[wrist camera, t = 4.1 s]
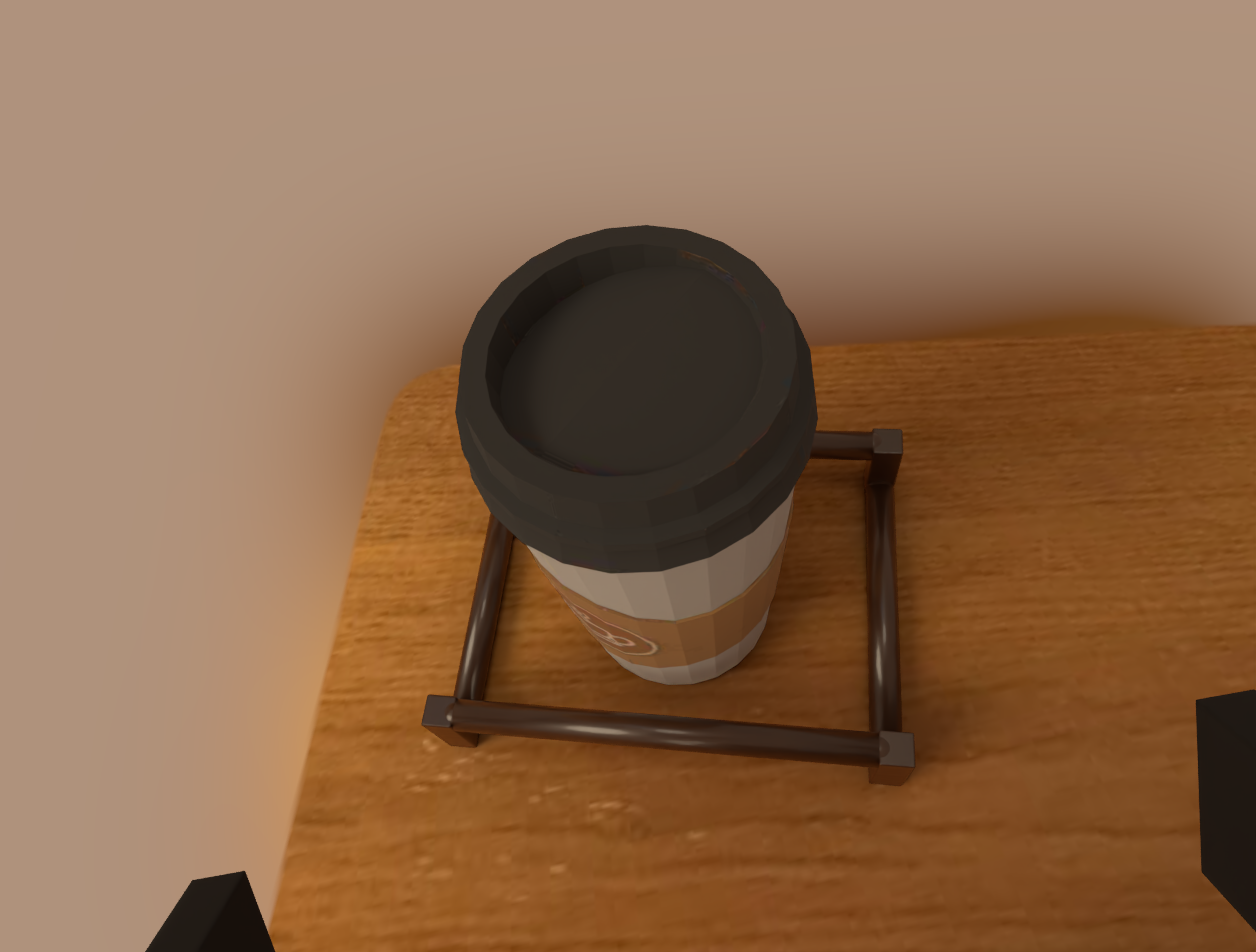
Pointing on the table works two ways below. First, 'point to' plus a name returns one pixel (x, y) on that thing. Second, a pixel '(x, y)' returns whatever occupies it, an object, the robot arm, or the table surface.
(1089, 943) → the table surface
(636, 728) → the rectangular rod frame
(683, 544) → the coffee cup
